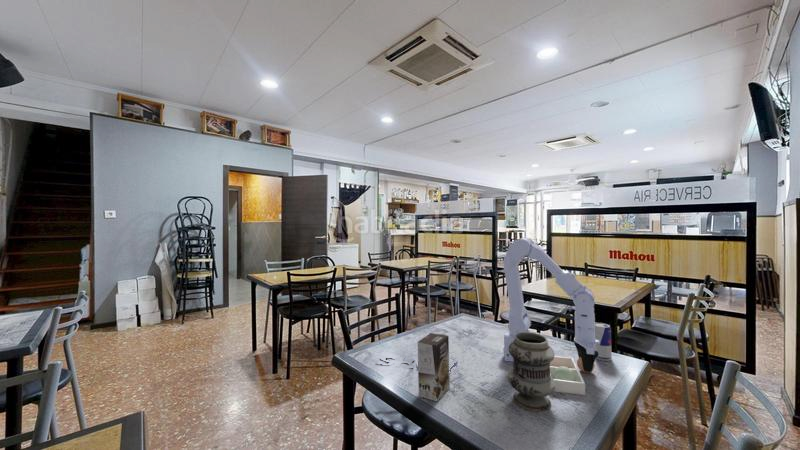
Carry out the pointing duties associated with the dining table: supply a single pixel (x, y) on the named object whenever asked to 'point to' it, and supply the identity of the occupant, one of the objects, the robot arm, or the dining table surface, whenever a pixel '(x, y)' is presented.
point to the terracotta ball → (579, 363)
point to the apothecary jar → (531, 371)
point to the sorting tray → (562, 385)
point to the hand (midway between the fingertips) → (585, 367)
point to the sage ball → (564, 373)
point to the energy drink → (603, 341)
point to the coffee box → (433, 366)
